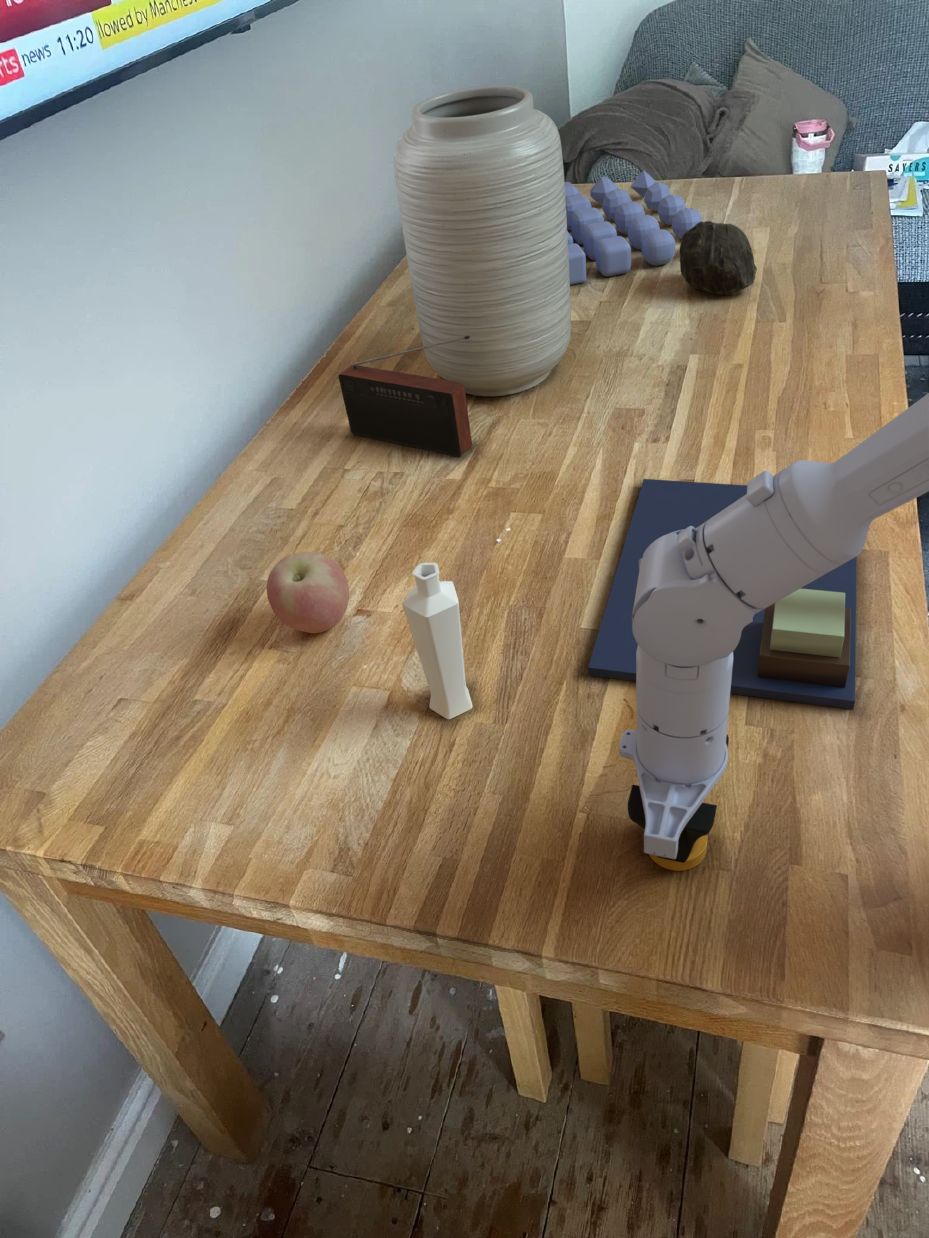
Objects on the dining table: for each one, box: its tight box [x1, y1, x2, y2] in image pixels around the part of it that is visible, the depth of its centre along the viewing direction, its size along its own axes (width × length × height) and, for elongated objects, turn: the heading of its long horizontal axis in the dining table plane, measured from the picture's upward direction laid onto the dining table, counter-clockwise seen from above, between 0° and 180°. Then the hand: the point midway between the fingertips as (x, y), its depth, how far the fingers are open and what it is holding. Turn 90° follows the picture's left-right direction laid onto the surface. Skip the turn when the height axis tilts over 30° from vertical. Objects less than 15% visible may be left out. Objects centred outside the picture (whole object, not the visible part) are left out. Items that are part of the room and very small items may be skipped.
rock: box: [678, 220, 758, 296], centre depth 138 cm, size 10×11×10 cm
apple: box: [266, 551, 350, 634], centre depth 91 cm, size 8×8×8 cm
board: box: [587, 478, 858, 710], centre depth 90 cm, size 30×22×1 cm
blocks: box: [564, 169, 703, 286], centre depth 159 cm, size 35×34×5 cm
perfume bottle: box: [401, 562, 474, 720], centre depth 78 cm, size 5×4×15 cm
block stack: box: [757, 589, 851, 688], centre depth 79 cm, size 7×7×5 cm
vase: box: [393, 84, 572, 398], centre depth 118 cm, size 20×20×34 cm
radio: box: [337, 336, 473, 458], centre depth 112 cm, size 19×3×15 cm, turn 60°
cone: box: [648, 834, 709, 872], centre depth 68 cm, size 4×4×6 cm
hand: (676, 831), depth 68 cm, fingers closed on cone, 3 cm apart
